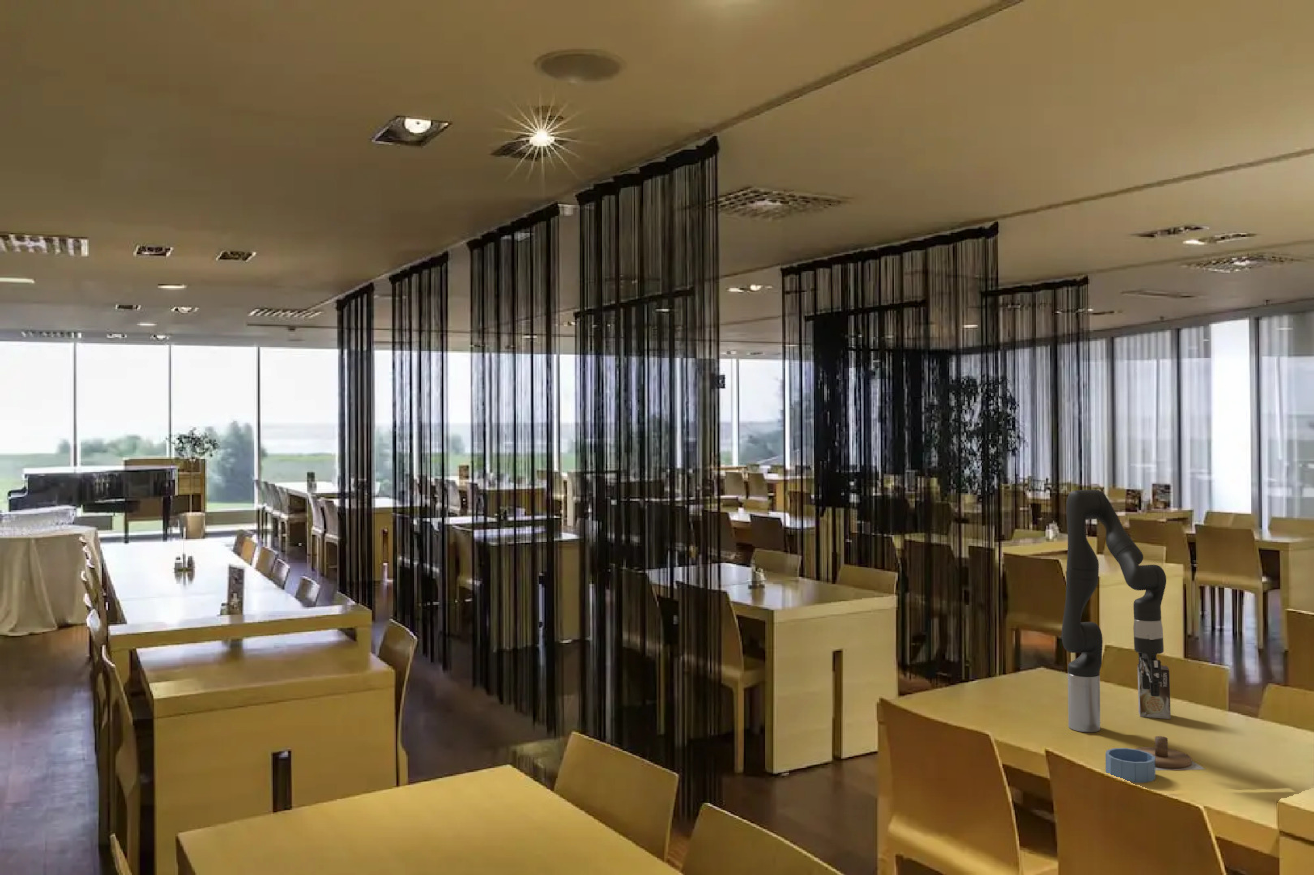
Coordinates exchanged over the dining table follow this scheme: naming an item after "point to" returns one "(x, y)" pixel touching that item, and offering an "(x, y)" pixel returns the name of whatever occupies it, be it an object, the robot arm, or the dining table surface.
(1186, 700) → the dining table surface
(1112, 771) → the bowl
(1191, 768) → the mat
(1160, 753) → the lid
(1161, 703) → the coffee box
